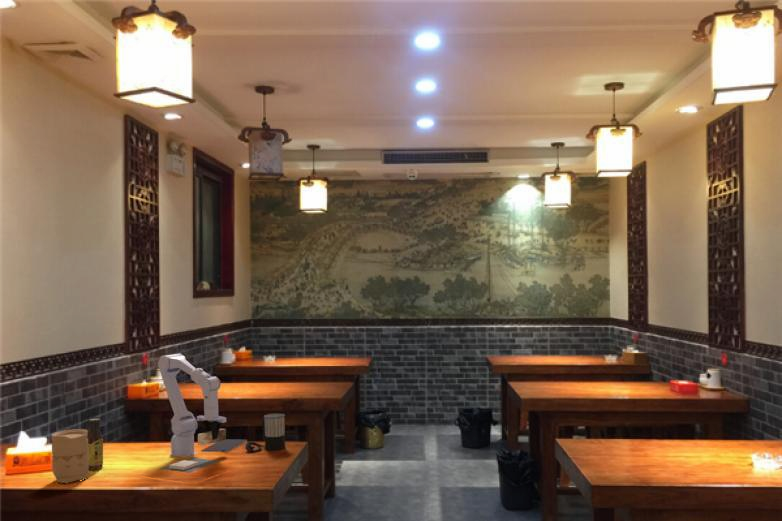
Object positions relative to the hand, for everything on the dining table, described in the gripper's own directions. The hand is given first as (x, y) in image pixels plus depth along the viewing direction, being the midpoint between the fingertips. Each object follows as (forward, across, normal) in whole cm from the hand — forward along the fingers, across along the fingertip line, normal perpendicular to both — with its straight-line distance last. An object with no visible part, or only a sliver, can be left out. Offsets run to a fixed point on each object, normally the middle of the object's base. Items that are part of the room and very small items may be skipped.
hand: (212, 438), depth 291 cm
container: (+9, -31, -44) cm, 55 cm away
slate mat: (+8, 0, -12) cm, 15 cm away
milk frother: (+9, +12, +21) cm, 25 cm away
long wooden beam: (+1, 0, 0) cm, 1 cm away
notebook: (+9, -10, +19) cm, 24 cm away
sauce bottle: (+9, -36, -29) cm, 47 cm away
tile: (+7, 0, -12) cm, 14 cm away
